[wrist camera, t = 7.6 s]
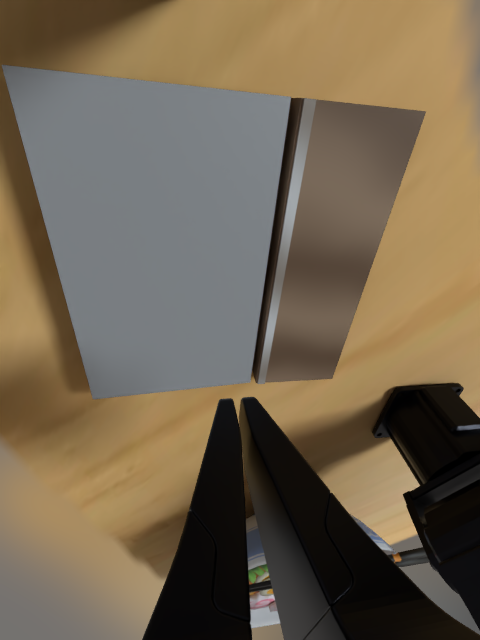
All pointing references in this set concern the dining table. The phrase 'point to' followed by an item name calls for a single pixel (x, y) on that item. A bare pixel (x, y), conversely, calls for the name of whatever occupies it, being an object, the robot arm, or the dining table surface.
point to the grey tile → (155, 220)
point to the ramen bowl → (260, 581)
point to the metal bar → (327, 230)
